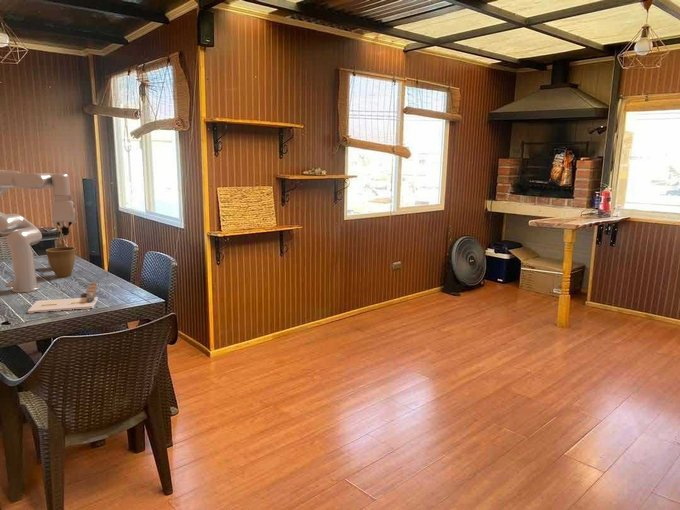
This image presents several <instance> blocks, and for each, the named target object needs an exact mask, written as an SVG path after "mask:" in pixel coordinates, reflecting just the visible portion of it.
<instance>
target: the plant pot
mask: <svg viewBox="0 0 680 510" xmlns="http://www.w3.org/2000/svg"><path fill="white" fill-rule="evenodd" d="M76 250H77V247H75V246H59V247H52V248H47V249H45V252H46V253H45V254H46V256H47V261H48V260H49V262H50V265H51V267H52V268H51V267H50V268H51V269H52V271H53V273H54V275H55V277H56V278H68V276H69V277H71V276H72V272H73V270H74V266H75V261H76Z"/></svg>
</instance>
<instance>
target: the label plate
mask: <svg viewBox="0 0 680 510" xmlns="http://www.w3.org/2000/svg"><path fill="white" fill-rule="evenodd" d="M98 299H99V298H98V296H95V298H94V300H93V301H87V297H74V298H60V299H59V298H57V299H46V300H36V301H35V302H34V303H33V304H32V305H31V306H30V308H29V309H28V310H27V314H28V313H29V314H35V313H34V312H43V313H48V312H47V311H56V312H62V311H61V310H69V311H75V310H74V309H82V310H91V309H90V308H93V309H94V307H95V306H96V303H97V301H98ZM72 309H73V310H72Z"/></svg>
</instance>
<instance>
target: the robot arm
mask: <svg viewBox="0 0 680 510" xmlns="http://www.w3.org/2000/svg"><path fill="white" fill-rule="evenodd" d="M70 185H71V184H70V177H69V175H68V174H67V173H53V172H40V173H39V172H37V173H35V172H33V173H30V172H29V173H23V172H20V171H18V170H7V169H0V197H1V196H3V195H4V193H6V192H7V191H8V190H9V189H23V190H24V189H25V190H43V189H52V196H53V201H52V203H51V220H52V222H51V223H52V224H54V225H57V226H59V227H60V228H61V234H62V235H63V236H68V235H70V226H71V225H73V224H76V223H77V222H78V221H77V220H76V219H77V215H76V214H77V213H76V208H75V204H74V201H73V200H74V199H75V196H73V195H71V190H70V189H71V186H70ZM64 222H65V224H64ZM0 234H2V235H4V234H8V235H7V238H6V239H7V245H8V247H9V250H10V255H11V261H12V269H13V279H14V281H12V282H5V287H6V288H12V289H11V291H12V292H13V293H31V292H35V291H39V290H40V289H42V286H41V285H40V284H38V281H37V272H36V271H37V270H36V265H35V264H36V263H35V256H34V255H35V254H34V252H33V250H32V249H31V248H32V247H31V246H33V245H37V244H39V243H40V242H41V241H42V239H43V235H42V232H41V231H40V229H39V228H38V227H37V226H35V225H34V224H33V223H31V221H29V220H28V219H27V218H25V217H24V216H23V215H21V214H18V213H4V212H1V211H0Z"/></svg>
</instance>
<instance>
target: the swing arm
mask: <svg viewBox="0 0 680 510" xmlns="http://www.w3.org/2000/svg"><path fill="white" fill-rule="evenodd" d="M97 285H98V284H97V282H89V283H88V288H87V291H86V294H85V295H86V297H87V301H93V300H94V298H95V297H96V294H97V290H98V286H97ZM86 297H85V298H86Z"/></svg>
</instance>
